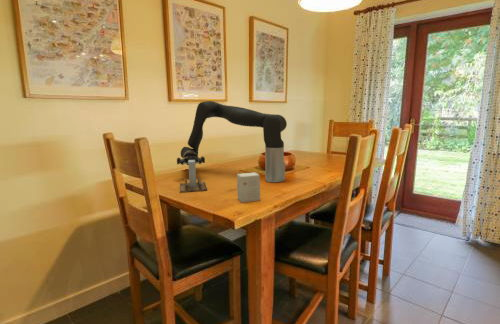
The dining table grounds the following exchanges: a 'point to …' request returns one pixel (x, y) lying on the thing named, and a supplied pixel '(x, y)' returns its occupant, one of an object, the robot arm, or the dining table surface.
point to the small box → (248, 187)
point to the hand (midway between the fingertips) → (191, 162)
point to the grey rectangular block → (192, 173)
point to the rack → (186, 188)
